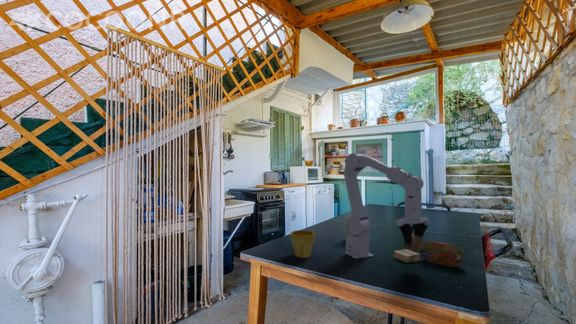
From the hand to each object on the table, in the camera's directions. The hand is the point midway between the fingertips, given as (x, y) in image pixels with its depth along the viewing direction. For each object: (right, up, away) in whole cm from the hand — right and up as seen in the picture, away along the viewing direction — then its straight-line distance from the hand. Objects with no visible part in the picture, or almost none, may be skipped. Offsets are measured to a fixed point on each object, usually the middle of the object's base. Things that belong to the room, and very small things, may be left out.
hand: (412, 243), depth 102 cm
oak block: (+2, -10, +10) cm, 15 cm away
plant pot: (-41, -9, +14) cm, 44 cm away
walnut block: (0, -2, 0) cm, 2 cm away
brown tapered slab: (+14, -10, +5) cm, 18 cm away
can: (-14, -10, +37) cm, 41 cm away
